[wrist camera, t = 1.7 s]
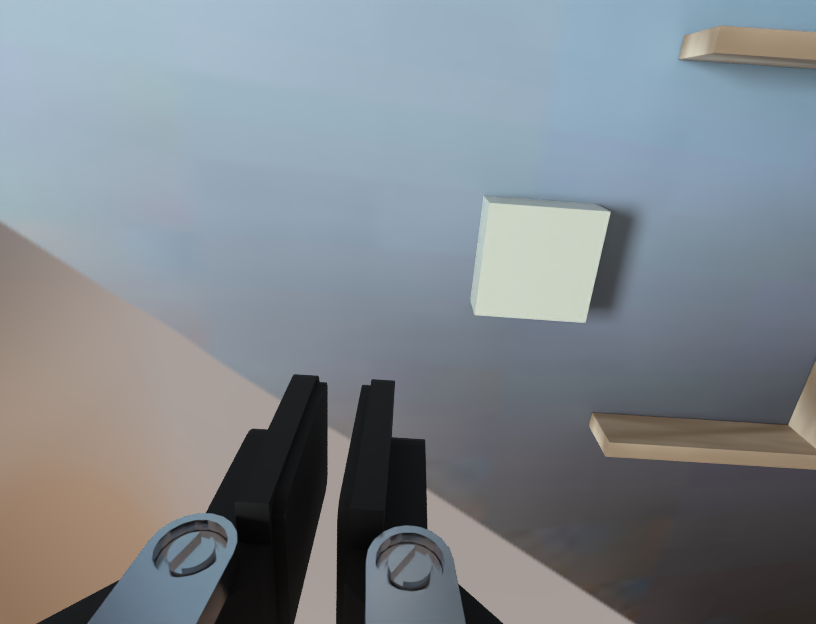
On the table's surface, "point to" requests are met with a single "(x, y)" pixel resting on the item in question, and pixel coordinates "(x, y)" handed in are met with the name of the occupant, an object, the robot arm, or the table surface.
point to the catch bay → (812, 418)
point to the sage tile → (537, 258)
